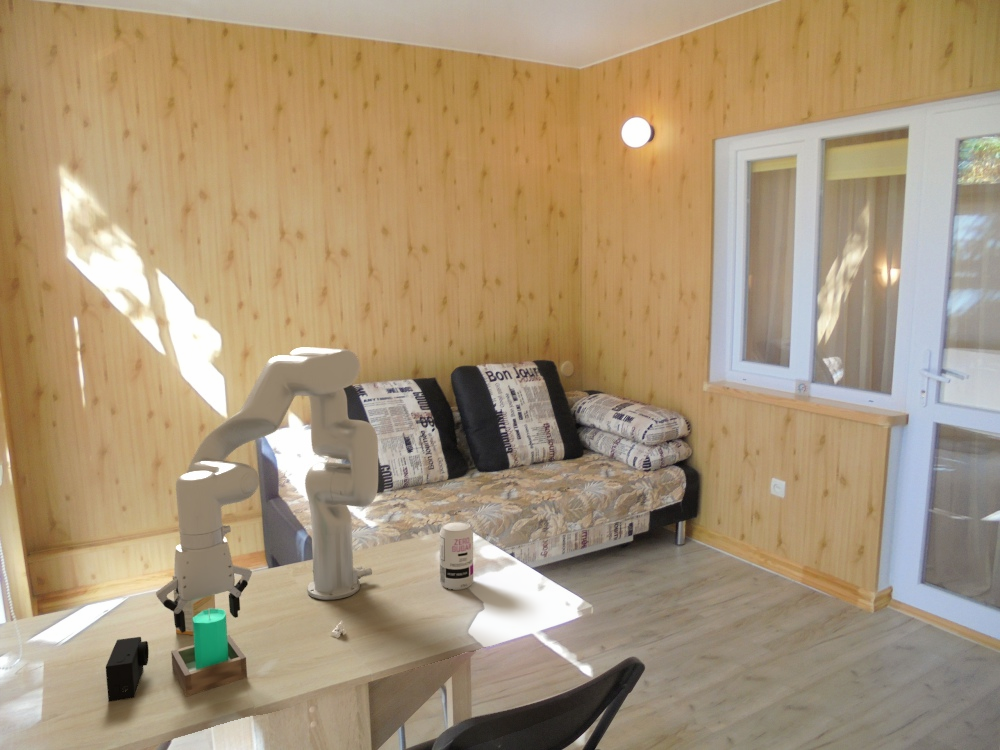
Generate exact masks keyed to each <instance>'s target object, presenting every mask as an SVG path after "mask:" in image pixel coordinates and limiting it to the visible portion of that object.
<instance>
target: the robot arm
mask: <svg viewBox="0 0 1000 750" xmlns="http://www.w3.org/2000/svg"><path fill="white" fill-rule="evenodd" d="M360 365H361V364H360V360H359V358H358V356H357V355H356V354H355V353H354V351H352V350H350V349H346V348H336V347H335V348H333V347H332V348H331V347H330V348H329V347H328V348H327V347H317V346H316V347H315V346H314V347H312V346H310V347H309V346H308V347H307V346H305V347H298V348H297V347H296V348H295V349H293V350H291V351H290V352H289V354H288V355H287V354H285V355H281V354H280V355H277V356H274V357H271V358H269V359H268V360H267V362H266V363H265V364H264V366H263V368H262V370H261V372H260V373H259V374H258V377H257V379H256V381H255V382H254V384H253V386H252V388H251V390H250V392H249V394H248V395H247V397H246V399H245V401H244V403H243V405H242V407H241V409H240V410H239V411H238V412H236V413H235V414H233V415H232V416H231V417H228V418H227V419H226V420H225V421H223V422H222V423H220V424H219V425H218V426H216V428H214V429H213V430H212V431H211V432H209V433H208V434H207V436H206V437H204V439H203V440H202V442H201V443H200V445H199V446H198V448H197V450H195V454H194V455H193V457H192V459H191V460H190V462H189V465H188V467H187V471H186V473H183V474H182V475H180V476H179V477H178V478H177V479H176V481H175V491H176V492H175V493H176V494H175V495H176V504H177V516H178V517H177V518H178V530H179V542H180V544H178V545H176V547H175V552H174V553H175V554H174V565H173V566H174V568H173V569H174V570H173V571H174V574H173V576H174V579H173V578H172V579H171V581H169V582H168V583H167V584H165V585H164V586H162V587H160V589H158V590H157V591H156V592H155V595H156V597H157V598H158V600H159V601H160V603H161V604H162V605H163V606H164V607H165V608H166V609H168V610H170V611H171V612H173V621H174V626H175V629H176V628H179V629H180V631H181V633H183V632H185V631H186V627H185V615H184V612H183V610H182V609H183V607H184V606H185V604H186V603H187V602H188V601H191V600H196V599H200V598H203V597H207V596H211V595H219V594H223V593H225V592H229V593H228V602H229V603H228V606H229V607H228V608H229V612H230V614H231V616H232V617H233V618H238V617H239V611H240V610H241V603H240V600H241V599H240V597H242V593H243V592H244V591H245V589H246V588H247V586H248V584H249V581H250V578H251V577H252V574H253V572H252V570H251V569H250V568H248V567H244V566H239V565H234V564H233V559H232V555H231V549H230V545H229V542H228V540H227V538H226V537H225V536H226V535H227V534H229V533H231V530H232V529H231V526H230V525H224V524H223V516H222V515H223V514H222V507H223V506H225V505H231V504H235V503H236V504H237V503H241V502H243V501H246V500H248V499H249V498H251V497H252V496H253V495H254V494H255V493H256V491H257V490H258V488H259V485H260V475H259V473H258V472H257V470H256V469H255V467H253V466H251V465H249V464H247V463H244V462H236V461H228V460H226V459H227V458H228V456H229V455H230V454H231V453H233V451H235V450H237V449H238V448H239V447H241V446H243V445H245V444H247V443H250V442H252V441H255V440H258V439H261V438H265V437H267V436H268V435H271V434H274V433H275V432H277V431H278V429H279V428H280V427H281V424H282V423H283V421H284V418H285V416H286V415H287V412H288V411H289V408H290V407H291V405H292V402H293V401H294V399H295V397H297V396H301V397H308V398H309V403H310V405H309V406H310V436H311V437H310V439H311V448H312V450H313V452H314V453H315V455H316V456H319V457H322V458H329V459H335V460H336V459H337V460H344V461H345V460H346V461H349V464H347V463H341V462H332V461H331V462H329V461H324V462H318V463H316V464H314V465H313V466H311V467H310V468H309V469H308V471H307V473H306V475H305V480H304V481H305V483H304V484H305V485H304V486H305V492H306V497H307V500H308V505H309V510H310V522H311V548H312V550H311V551H312V573H313V574H312V575H313V580H312V581H310V582H309V583H308V585H307V586H306V589H307V590H306V591H307V595H309V596H310V597H312V598H314V599H317V600H324V601H325V600H326V601H329V600H339V599H345V598H348V597H351V596H352V595H354V594H356V593H357V592H358V591H359V590H360V588H361V582H360V579H361V578H362V577H367V576H371V575H372V574H373V570H372V567H370V566H369V567H365V568H363V566H361V565H360V566H355V567H354V553H353V549H354V548H353V521H352V515H351V512H350V509H349V507H360V508H364V507H368V506H370V505H371V504H372V503H374V501H375V499H376V497H377V494H378V491H379V490H378V489H379V439H378V434H377V431H376V430H375V427H374V426H373V425H372V424H371V423H369V422H368V421H365V420H360V419H350V418H349V415H348V414H349V413H348V397H347V394H346V390H345V388H348V387H350V386H351V385H352V384H354V383H355V382H356V380H357V379H358V377H359V374H360V369H361V366H360ZM348 506H349V507H348ZM235 574H236V575H241V578H240V579H239V581H237V583H236V584H235ZM174 589H175V591H176V593H177V594H178V595H177V597H176V598H175V600H174V599H173V600H171V599H170V598H169V597H168V595H169V594H171V593H172V592H174V591H173V590H174Z"/></svg>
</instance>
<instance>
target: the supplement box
mask: <svg viewBox="0 0 1000 750" xmlns="http://www.w3.org/2000/svg"><path fill="white" fill-rule="evenodd" d="M173 579H174V575H172V580H173ZM172 592H173V601H174V600H175V598H176V597H177V595H178V594H177V593H176V591H175V589H174V590H173V591H172ZM215 595H216V594H215ZM215 595H211V596H207V597H203V598H200V599H196V600H191V601H188V602H187V603H186V604H185V606H184V607H183V609H182V610H183V612H184V615H185V627H186V631H185V632H183V633H181V631H180V629H179V628H176V627H175V633H176V634H181V635H190V636H194V633H193V617H195V616H196V615H198V614H199V613H200V612H202V611H204V610H208V608H209V609H216V599H215V598H216V596H215Z"/></svg>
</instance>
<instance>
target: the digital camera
mask: <svg viewBox="0 0 1000 750" xmlns="http://www.w3.org/2000/svg"><path fill="white" fill-rule="evenodd" d="M149 653H150V652H149V642H148V641H147V640H144V641H142V637H141V636H137V637H135V636H134V637H129V638H121V639H120V638H119V639H117V640H116V642H115V645H114V646H113V648H112V651H111V653H110V656H109V657H108V661H107V663H106V665H105V675H106V686H107V687H106V688H107V700H108V702H109V703H111V702H116V701H123V700H129V699H134V698H135V697H136V694H137V690H138V687H139V684H140V681H141V679H142V675H143V671H144V666H147V665H148V662H149Z"/></svg>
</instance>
